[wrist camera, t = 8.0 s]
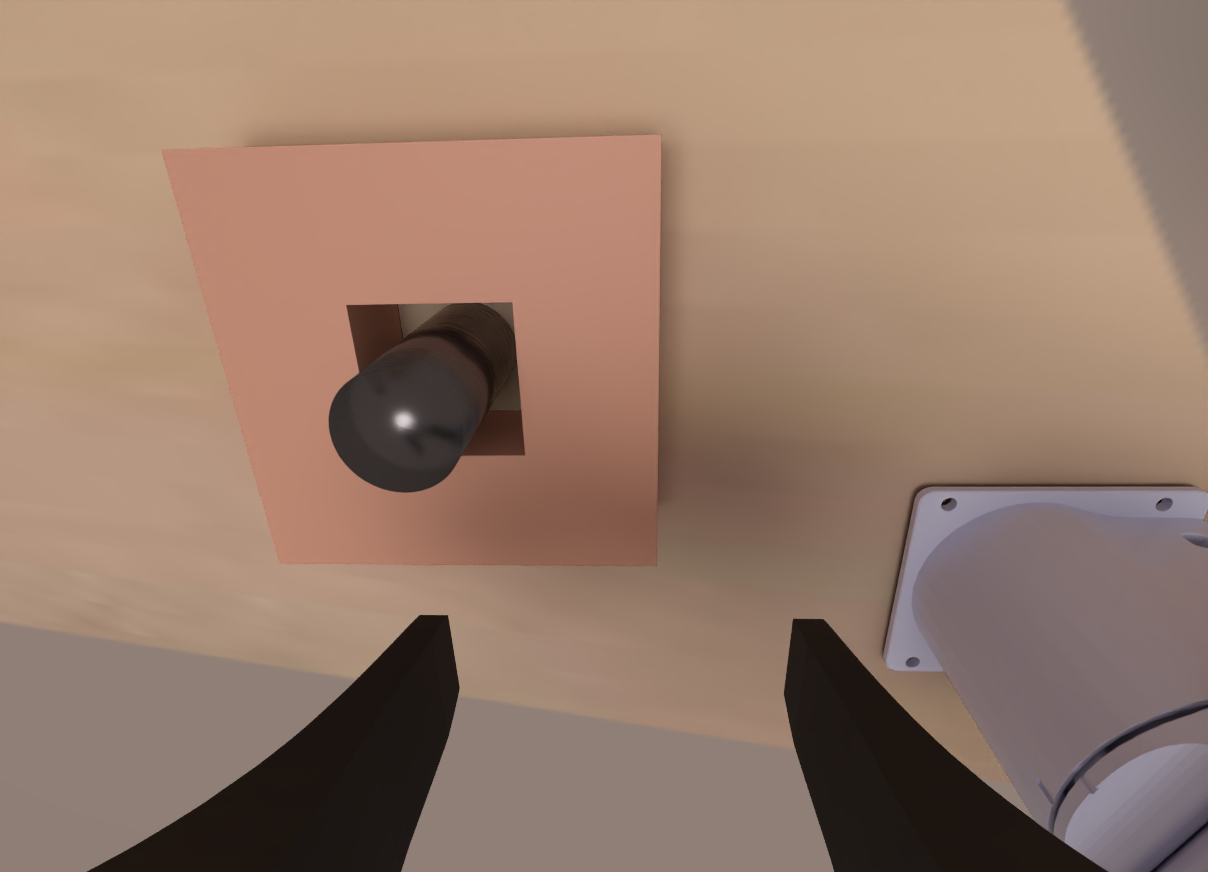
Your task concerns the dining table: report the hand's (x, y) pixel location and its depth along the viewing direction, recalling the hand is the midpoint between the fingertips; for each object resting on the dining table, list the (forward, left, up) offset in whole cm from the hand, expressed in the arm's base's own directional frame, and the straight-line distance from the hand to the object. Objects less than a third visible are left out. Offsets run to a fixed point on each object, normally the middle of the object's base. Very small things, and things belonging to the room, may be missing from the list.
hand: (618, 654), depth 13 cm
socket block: (+5, -4, -9) cm, 11 cm away
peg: (+5, -4, -9) cm, 11 cm away
